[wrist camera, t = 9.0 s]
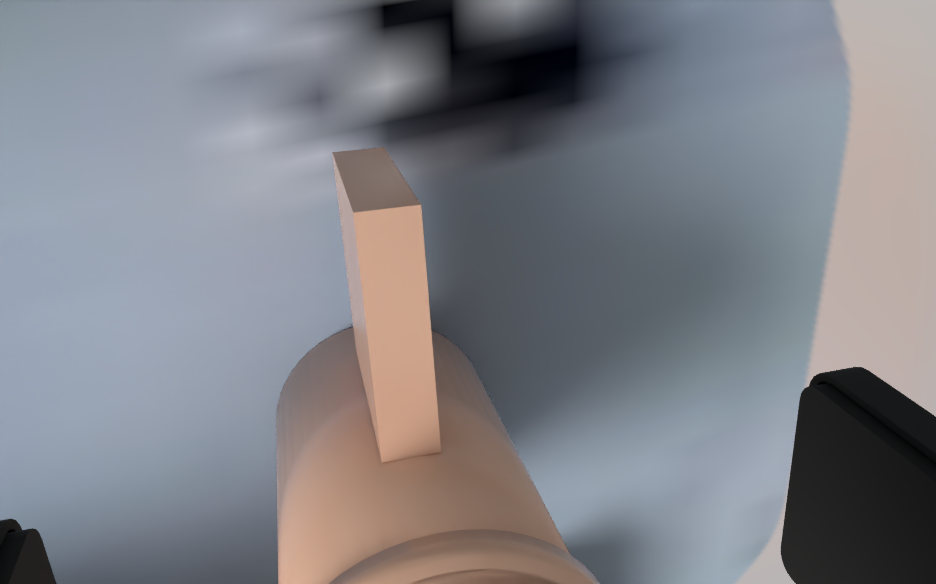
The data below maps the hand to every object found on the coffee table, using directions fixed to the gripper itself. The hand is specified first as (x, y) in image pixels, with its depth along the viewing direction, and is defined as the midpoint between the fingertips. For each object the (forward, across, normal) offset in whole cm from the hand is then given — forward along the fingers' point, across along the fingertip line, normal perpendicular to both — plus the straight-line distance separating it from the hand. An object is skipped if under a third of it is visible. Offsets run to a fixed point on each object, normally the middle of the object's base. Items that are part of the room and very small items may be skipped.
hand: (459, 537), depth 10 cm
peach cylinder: (+16, -1, +5) cm, 17 cm away
